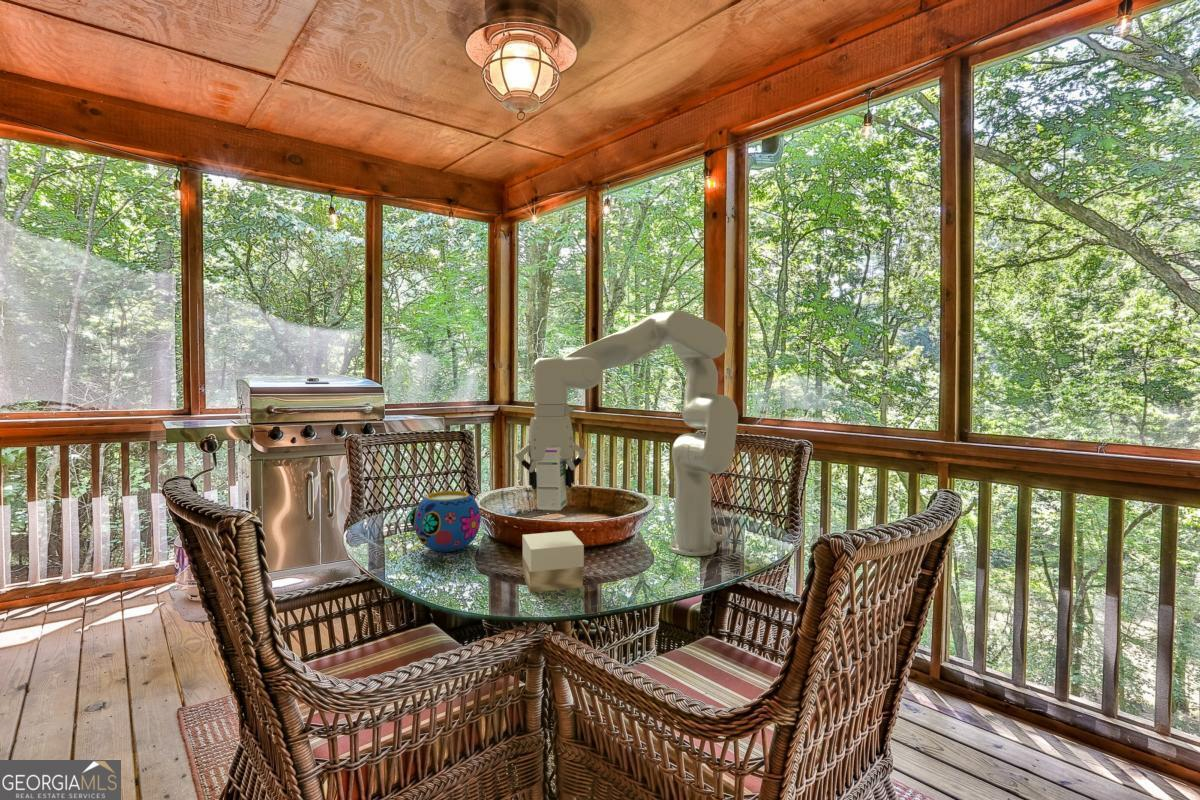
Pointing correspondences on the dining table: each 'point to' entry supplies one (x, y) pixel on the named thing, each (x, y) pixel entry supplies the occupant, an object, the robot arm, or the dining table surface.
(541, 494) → the syrup box
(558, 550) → the tower top slab
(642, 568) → the dining table surface
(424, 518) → the ceramic pot
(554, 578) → the tower base slab
